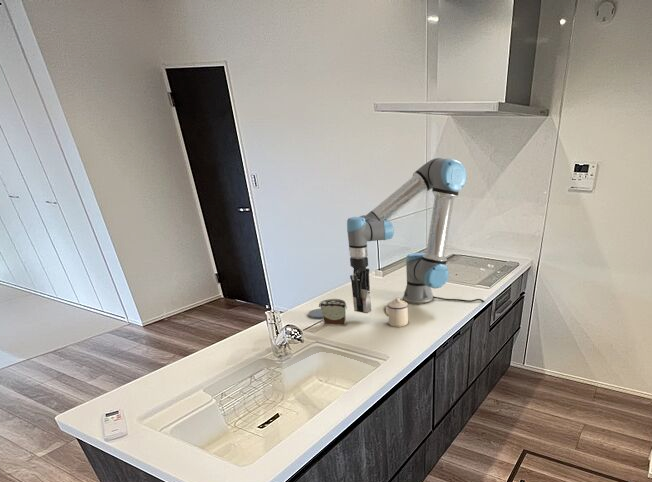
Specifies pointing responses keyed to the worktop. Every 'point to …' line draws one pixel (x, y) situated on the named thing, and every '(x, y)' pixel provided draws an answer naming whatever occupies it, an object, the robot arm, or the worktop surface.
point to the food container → (333, 311)
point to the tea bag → (364, 302)
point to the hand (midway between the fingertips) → (362, 309)
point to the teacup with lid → (397, 312)
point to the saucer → (316, 314)
